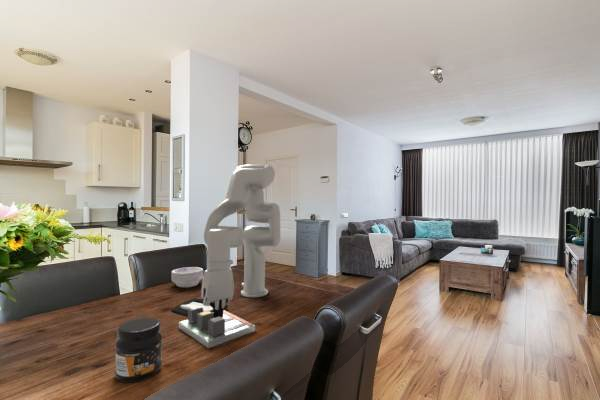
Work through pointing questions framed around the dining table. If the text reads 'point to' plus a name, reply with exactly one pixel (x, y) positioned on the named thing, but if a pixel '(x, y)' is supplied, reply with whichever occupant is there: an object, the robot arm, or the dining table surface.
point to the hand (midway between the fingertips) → (218, 319)
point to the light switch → (184, 307)
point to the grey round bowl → (187, 276)
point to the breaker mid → (204, 319)
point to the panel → (232, 330)
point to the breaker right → (216, 326)
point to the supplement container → (138, 349)
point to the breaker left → (194, 313)
